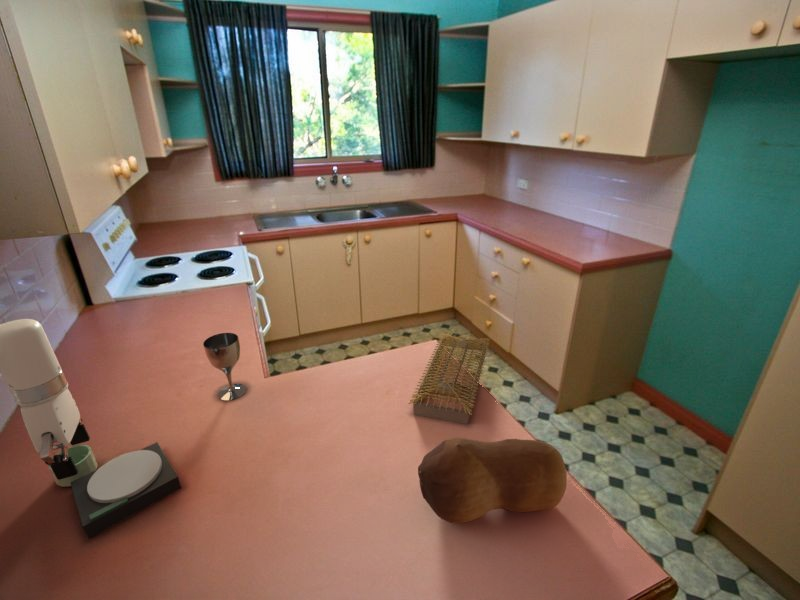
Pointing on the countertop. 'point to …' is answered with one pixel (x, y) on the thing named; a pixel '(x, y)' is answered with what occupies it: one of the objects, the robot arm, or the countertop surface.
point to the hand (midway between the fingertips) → (75, 458)
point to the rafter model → (449, 387)
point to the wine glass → (225, 361)
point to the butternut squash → (491, 477)
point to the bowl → (78, 463)
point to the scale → (123, 488)
